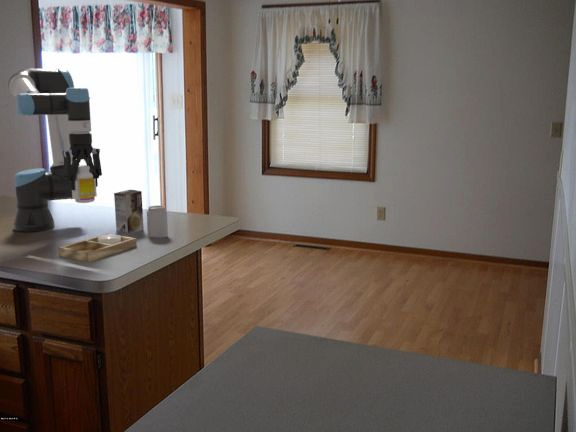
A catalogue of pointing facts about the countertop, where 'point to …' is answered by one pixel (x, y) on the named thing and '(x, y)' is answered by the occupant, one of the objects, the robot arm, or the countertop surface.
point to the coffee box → (129, 211)
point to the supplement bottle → (85, 184)
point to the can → (157, 221)
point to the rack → (95, 248)
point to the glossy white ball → (109, 239)
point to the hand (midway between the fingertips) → (84, 197)
